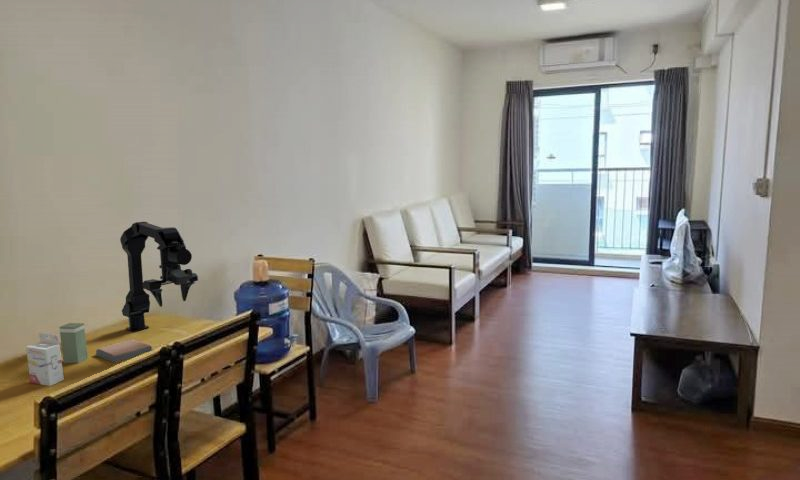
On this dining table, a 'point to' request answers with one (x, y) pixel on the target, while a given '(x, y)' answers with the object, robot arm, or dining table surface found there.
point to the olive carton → (73, 342)
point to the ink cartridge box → (45, 361)
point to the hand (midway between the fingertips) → (172, 303)
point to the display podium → (123, 350)
